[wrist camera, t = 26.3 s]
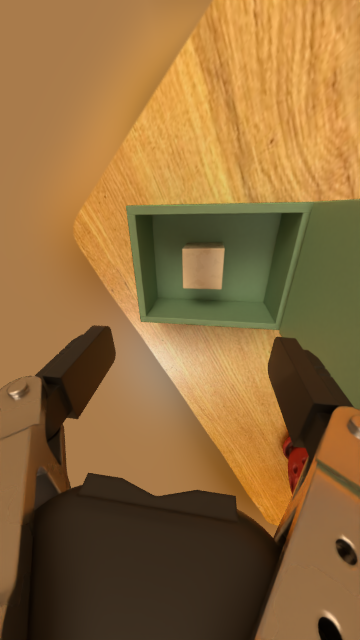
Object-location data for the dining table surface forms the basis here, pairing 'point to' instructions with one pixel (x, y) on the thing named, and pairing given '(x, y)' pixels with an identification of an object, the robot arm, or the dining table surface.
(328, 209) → the lunchbox lid
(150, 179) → the dining table surface
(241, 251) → the box
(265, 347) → the dining table surface
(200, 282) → the wooden block
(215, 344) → the dining table surface
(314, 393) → the robot arm
